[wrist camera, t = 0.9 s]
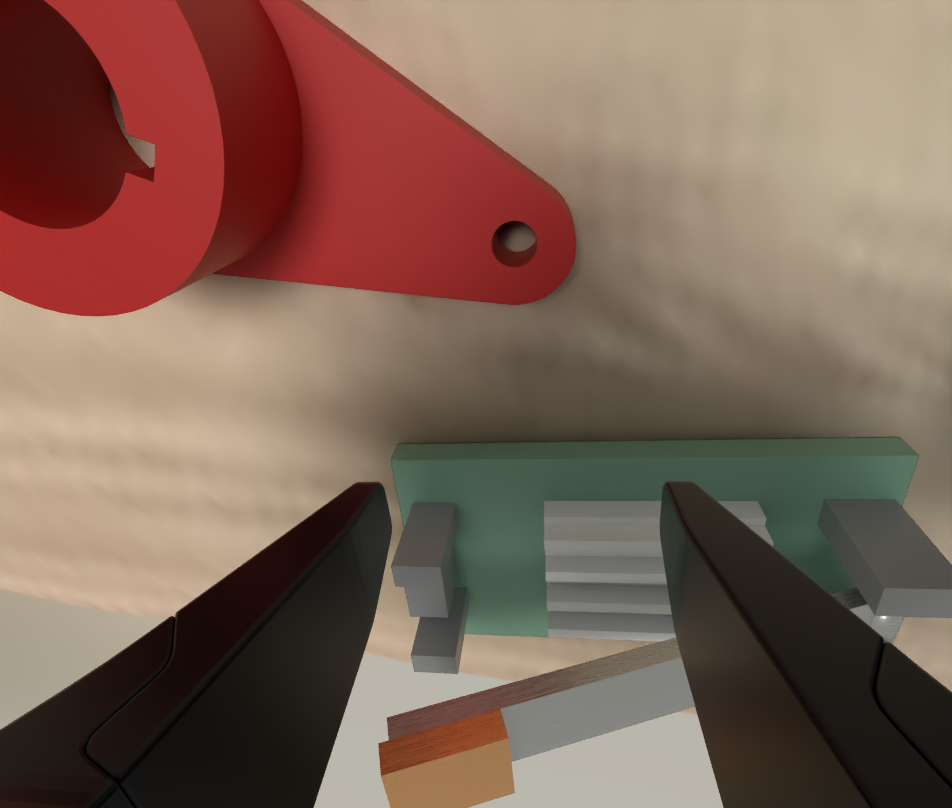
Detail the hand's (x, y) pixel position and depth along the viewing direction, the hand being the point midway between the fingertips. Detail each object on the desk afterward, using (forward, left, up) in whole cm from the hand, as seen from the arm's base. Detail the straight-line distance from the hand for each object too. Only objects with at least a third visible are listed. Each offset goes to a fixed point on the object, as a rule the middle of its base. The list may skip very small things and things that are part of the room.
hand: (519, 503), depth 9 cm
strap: (-3, +12, -6) cm, 13 cm away
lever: (+7, -5, -12) cm, 15 cm away
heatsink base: (-3, +11, -12) cm, 17 cm away
